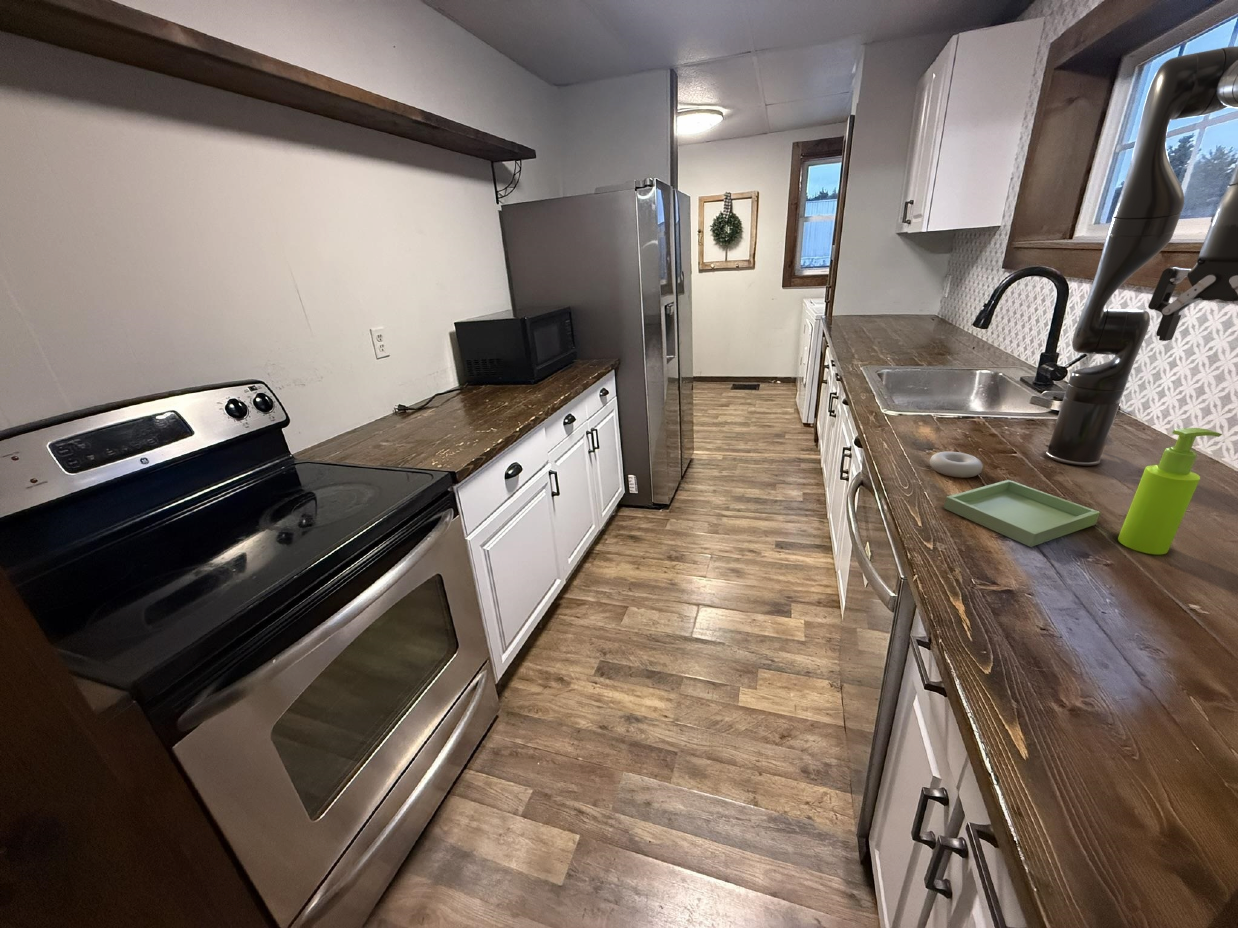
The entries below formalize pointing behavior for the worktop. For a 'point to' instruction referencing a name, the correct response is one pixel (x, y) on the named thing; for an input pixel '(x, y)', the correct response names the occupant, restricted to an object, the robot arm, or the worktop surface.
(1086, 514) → the tray
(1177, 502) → the soap dispenser
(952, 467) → the donut
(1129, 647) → the worktop surface
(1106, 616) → the worktop surface
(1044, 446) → the worktop surface
